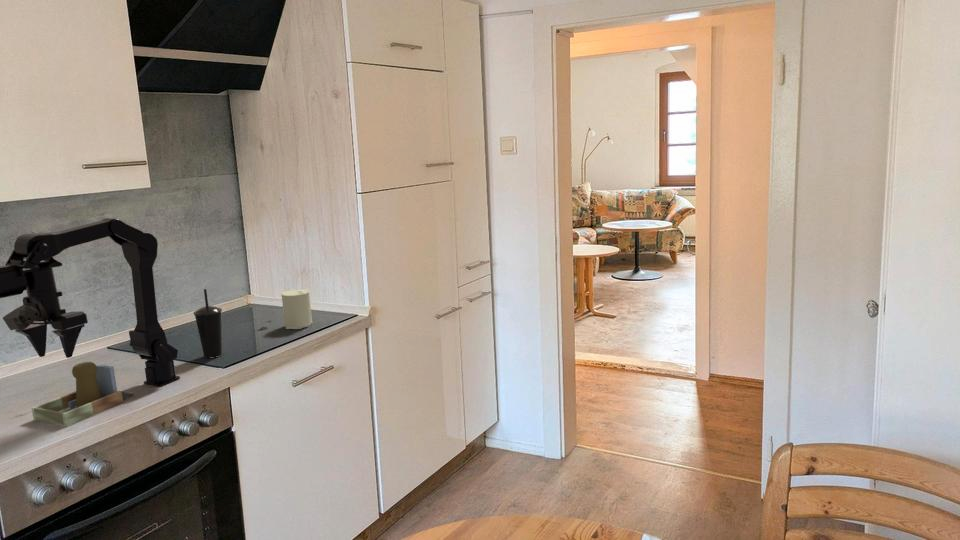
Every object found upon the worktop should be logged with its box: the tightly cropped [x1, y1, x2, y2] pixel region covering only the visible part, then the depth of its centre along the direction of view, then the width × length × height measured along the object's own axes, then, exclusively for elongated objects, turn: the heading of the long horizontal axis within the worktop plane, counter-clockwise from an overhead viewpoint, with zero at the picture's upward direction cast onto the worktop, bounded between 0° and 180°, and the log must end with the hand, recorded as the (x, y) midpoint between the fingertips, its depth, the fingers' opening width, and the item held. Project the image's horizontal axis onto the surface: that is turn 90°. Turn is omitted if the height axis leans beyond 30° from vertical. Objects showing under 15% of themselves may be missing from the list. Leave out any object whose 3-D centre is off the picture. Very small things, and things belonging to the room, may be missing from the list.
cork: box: [71, 361, 102, 408], centre depth 167 cm, size 6×6×11 cm
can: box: [280, 288, 313, 327], centre depth 232 cm, size 9×9×12 cm
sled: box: [68, 363, 118, 409], centre depth 168 cm, size 7×8×9 cm
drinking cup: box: [193, 288, 223, 359], centre depth 202 cm, size 8×8×20 cm
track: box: [31, 390, 124, 427], centre depth 165 cm, size 15×11×3 cm
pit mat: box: [122, 391, 135, 401], centre depth 175 cm, size 4×8×1 cm, turn 66°
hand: (55, 356), depth 159 cm, fingers open, 9 cm apart
